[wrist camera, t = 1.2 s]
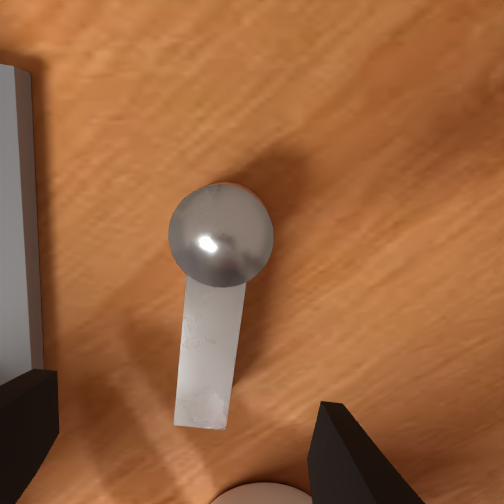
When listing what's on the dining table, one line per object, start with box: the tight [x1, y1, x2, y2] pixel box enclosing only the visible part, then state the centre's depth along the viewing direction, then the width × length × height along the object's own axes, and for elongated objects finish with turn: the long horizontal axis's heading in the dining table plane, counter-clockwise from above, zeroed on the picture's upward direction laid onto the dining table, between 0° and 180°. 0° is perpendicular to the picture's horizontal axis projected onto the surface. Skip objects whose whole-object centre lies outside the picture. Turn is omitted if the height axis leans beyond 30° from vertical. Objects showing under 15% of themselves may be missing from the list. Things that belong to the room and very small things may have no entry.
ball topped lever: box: [169, 182, 274, 430], centre depth 15 cm, size 12×4×3 cm, turn 172°
